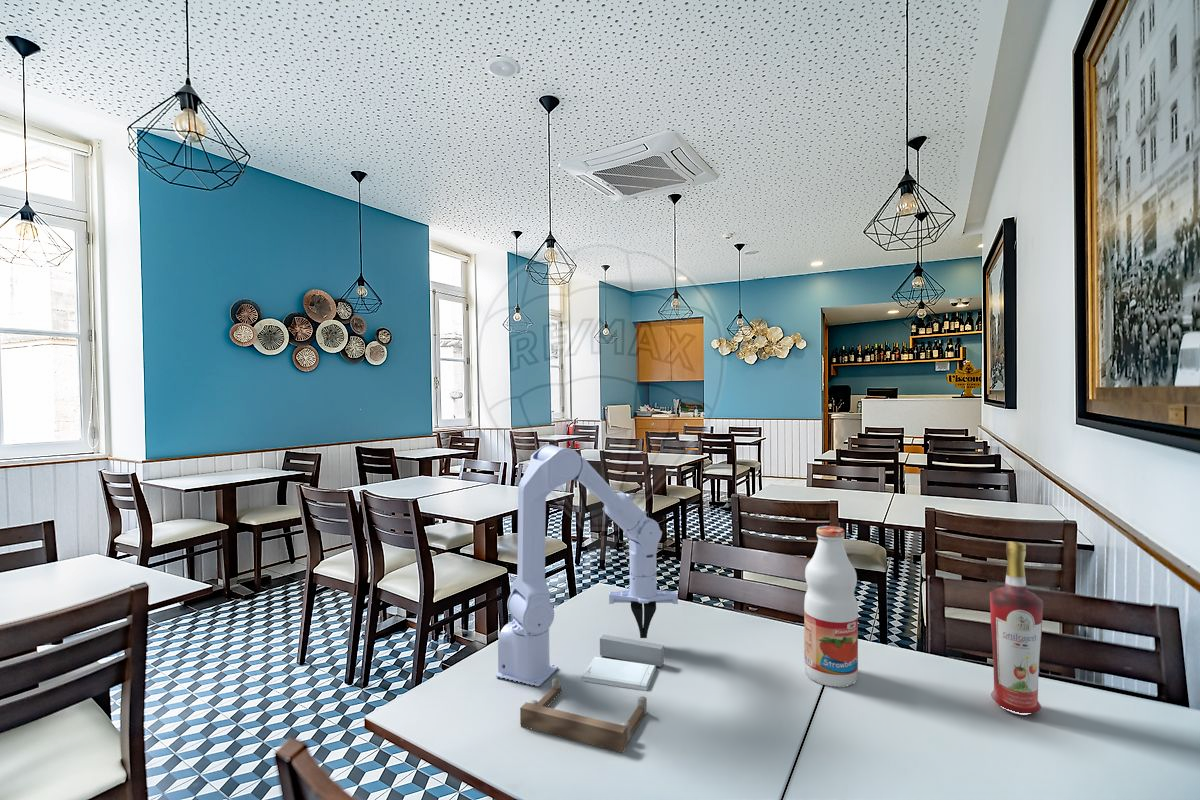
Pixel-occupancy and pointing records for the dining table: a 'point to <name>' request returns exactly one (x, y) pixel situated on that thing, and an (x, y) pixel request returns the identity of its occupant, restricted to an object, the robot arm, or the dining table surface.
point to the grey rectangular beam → (632, 650)
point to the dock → (579, 722)
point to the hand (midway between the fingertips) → (643, 636)
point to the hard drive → (619, 673)
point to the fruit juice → (831, 612)
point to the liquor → (1016, 637)
